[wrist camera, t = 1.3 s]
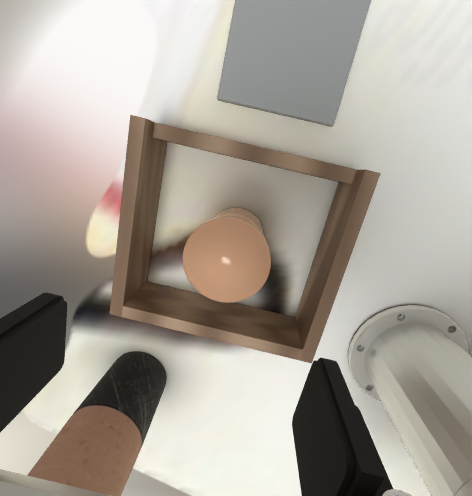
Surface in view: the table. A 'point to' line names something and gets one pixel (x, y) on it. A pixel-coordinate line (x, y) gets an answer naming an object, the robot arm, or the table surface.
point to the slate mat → (291, 56)
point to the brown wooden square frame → (230, 314)
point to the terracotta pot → (228, 256)
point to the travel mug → (106, 428)
